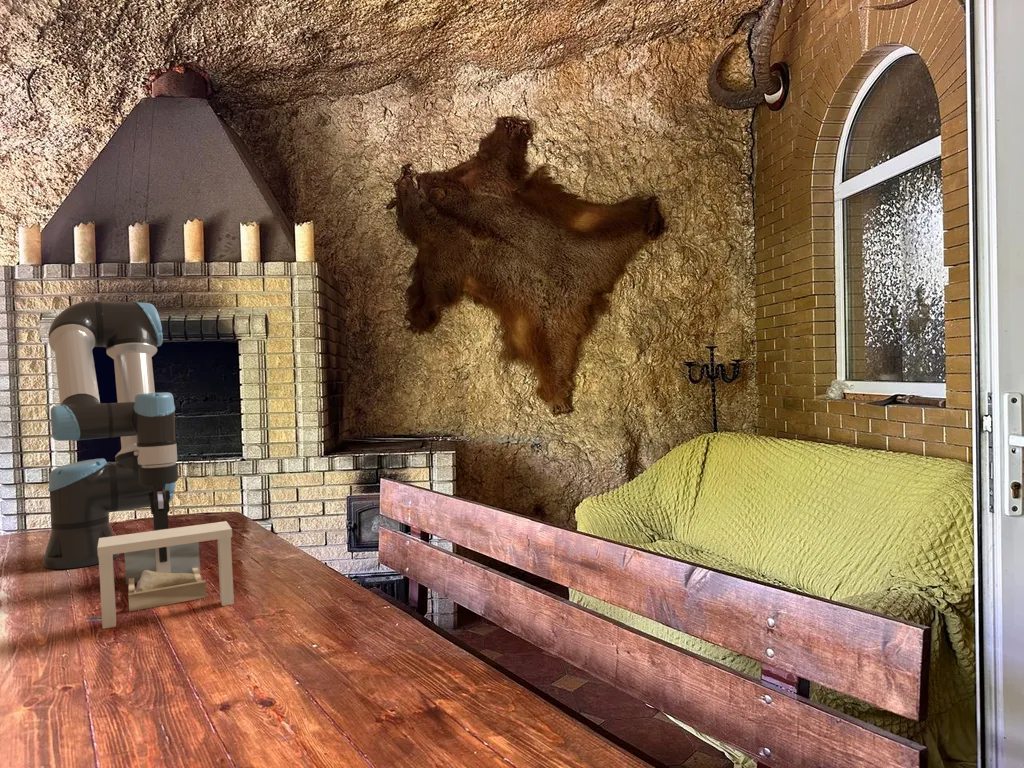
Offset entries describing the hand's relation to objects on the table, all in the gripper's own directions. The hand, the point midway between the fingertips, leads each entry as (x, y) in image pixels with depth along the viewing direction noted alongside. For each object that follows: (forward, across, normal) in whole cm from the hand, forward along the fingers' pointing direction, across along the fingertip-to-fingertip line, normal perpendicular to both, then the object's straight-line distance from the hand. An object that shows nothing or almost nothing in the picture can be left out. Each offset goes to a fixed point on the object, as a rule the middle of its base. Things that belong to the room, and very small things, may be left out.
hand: (163, 573), depth 148 cm
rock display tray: (+1, +10, 0) cm, 10 cm away
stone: (0, +15, 0) cm, 15 cm away
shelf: (+1, +27, 0) cm, 27 cm away
